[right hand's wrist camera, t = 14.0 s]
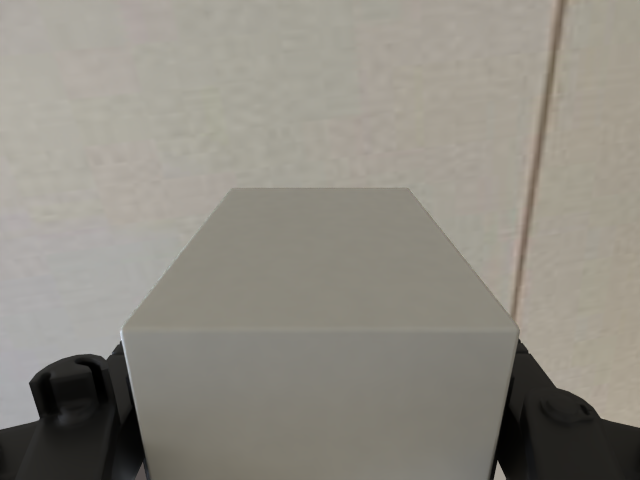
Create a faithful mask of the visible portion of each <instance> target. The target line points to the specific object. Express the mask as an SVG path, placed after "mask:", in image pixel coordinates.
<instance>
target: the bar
mask: <svg viewBox="0 0 640 480" xmlns="http://www.w3.org/2000/svg"><path fill="white" fill-rule="evenodd" d="M519 334H520V330H519V327H518V325H517V324H516V323H515V322H514V320H513V319H512V318H511V317H510V315H509V314H508V313H507V312H506V310H505V309H504V308H503V307H502V305H501V304H500V303H499V302H498V300H497V299H496V298H495V297H494V295H493V294H492V293H491V292H490V290H489V289H488V288H487V287H486V285H485V284H484V283H483V282H482V280H481V279H480V278H479V276H478V275H477V274H476V273H475V271H474V270H473V269H472V268H471V266H470V265H469V264H468V263H467V261H466V260H465V259H464V258H463V256H462V255H461V254H460V253H459V251H458V250H457V249H456V248H455V246H454V245H453V244H452V243H451V241H450V240H449V239H448V238H447V236H446V235H445V234H444V233H443V231H442V230H441V229H440V228H439V226H438V225H437V224H436V223H435V221H434V220H433V219H432V218H431V216H430V215H429V214H428V213H427V211H426V210H425V209H424V207H423V206H422V205H421V204H420V202H419V201H418V200H417V199H416V197H415V196H414V195H413V194H412V192H411V191H410V190H409V189H408V188H232V189H230V191H229V192H228V193H227V194H226V196H225V197H224V198H223V199H222V201H221V202H220V203H219V204H218V206H217V207H216V208H215V209H214V211H213V212H212V213H211V215H210V216H209V217H208V218H207V220H206V221H205V222H204V223H203V225H202V226H201V227H200V228H199V230H198V231H197V232H196V233H195V235H194V236H193V237H192V238H191V240H190V241H189V242H188V243H187V245H186V246H185V247H184V249H183V250H182V251H181V252H180V254H179V255H178V256H177V257H176V259H175V260H174V261H173V262H172V264H171V265H170V266H169V267H168V269H167V270H166V271H165V272H164V274H163V275H162V276H161V277H160V279H159V280H158V281H157V283H156V284H155V285H154V286H153V288H152V289H151V290H150V291H149V293H148V294H147V295H146V296H145V298H144V299H143V300H142V301H141V303H140V304H139V305H138V306H137V308H136V309H135V310H134V311H133V313H132V314H131V315H130V317H129V318H128V319H127V320H126V322H125V323H124V324H123V325H122V327H121V330H120V335H121V340H122V345H123V350H124V354H125V359H126V364H127V369H128V374H129V379H130V384H131V388H132V393H133V398H134V403H135V408H136V413H137V418H138V422H139V427H140V432H141V437H142V442H143V447H144V452H145V456H146V461H147V466H148V471H149V476H150V480H490V475H491V470H492V465H493V460H494V455H495V450H496V446H497V441H498V436H499V431H500V426H501V421H502V416H503V411H504V407H505V402H506V397H507V392H508V387H509V382H510V377H511V373H512V368H513V363H514V358H515V353H516V348H517V343H518V338H519Z"/></svg>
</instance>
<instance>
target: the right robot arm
mask: <svg viewBox="0 0 640 480" xmlns="http://www.w3.org/2000/svg"><path fill="white" fill-rule="evenodd" d="M29 385H30V388H31V391H32V394H33V398H34V401H35V404H36V407H37V410H38V413H39V417H40V419H39V421H35V422H32V423H28V424H23V425H19V426H15V427H10V428H6V429H1V430H0V480H135V477H136V475H137V473H138V471H139V469H140V467H141V464H142V462H143V464H144V469H145V473H146V478H147V480H150V476H149V471H148V466H147V461H146V456H145V452H144V447H143V442H142V437H141V432H140V427H139V422H138V418H137V413H136V408H135V403H134V398H133V393H132V388H131V384H130V379H129V374H128V369H127V364H126V359H125V354H124V350H123V345H122V340H121V341H120V345H117V347H116V348H115V349H114V351H113V352H112V355H110V356H109V357H108V359H107V360H105V359H104V358H103V357H101V356H97V355H93V354H84V355H75V356H71V357H67V358H63V359H61V360H59V361H56V362H54V363H52V364H50V365H48V366H46V367H45V368H44V369H42V370H41V371H39V372H38V373H37V374H36V375H35V376H34V377H33V379H32V380H31V381H30V382H29ZM497 460H498V462H499V464H500V466H501V468H502V470H503V472H504V474H505V477H506V480H640V428H638V427H633V426H629V425H625V424H620V423H616V422H611V421H608V420H604V419H601V418H600V417H599V415H598V414H597V412H596V411H595V409H594V408H593V407H592V406H591V405H589V404H588V403H587V402H586V401H585V400H583V399H582V398H580V397H578V396H576V395H574V394H572V393H570V392H568V391H565V390H562V389H558V388H556V387H555V385H554V384H553V383H552V381H551V380H550V379H549V377H548V376H547V375H546V373H545V372H544V371H543V370H542V368H541V367H540V366H539V364H538V363H537V362H536V360H535V359H534V358H533V356H532V355H531V354H529V353H528V350H527V349H526V347H525V346H524V345H523V343H521V341H520V339H519V338H518V343H517V348H516V353H515V358H514V363H513V368H512V373H511V377H510V382H509V387H508V392H507V397H506V402H505V407H504V411H503V416H502V421H501V426H500V431H499V436H498V441H497V446H496V450H495V455H494V460H493V465H492V470H491V475H490V480H494V475H495V470H496V465H497Z"/></svg>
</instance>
